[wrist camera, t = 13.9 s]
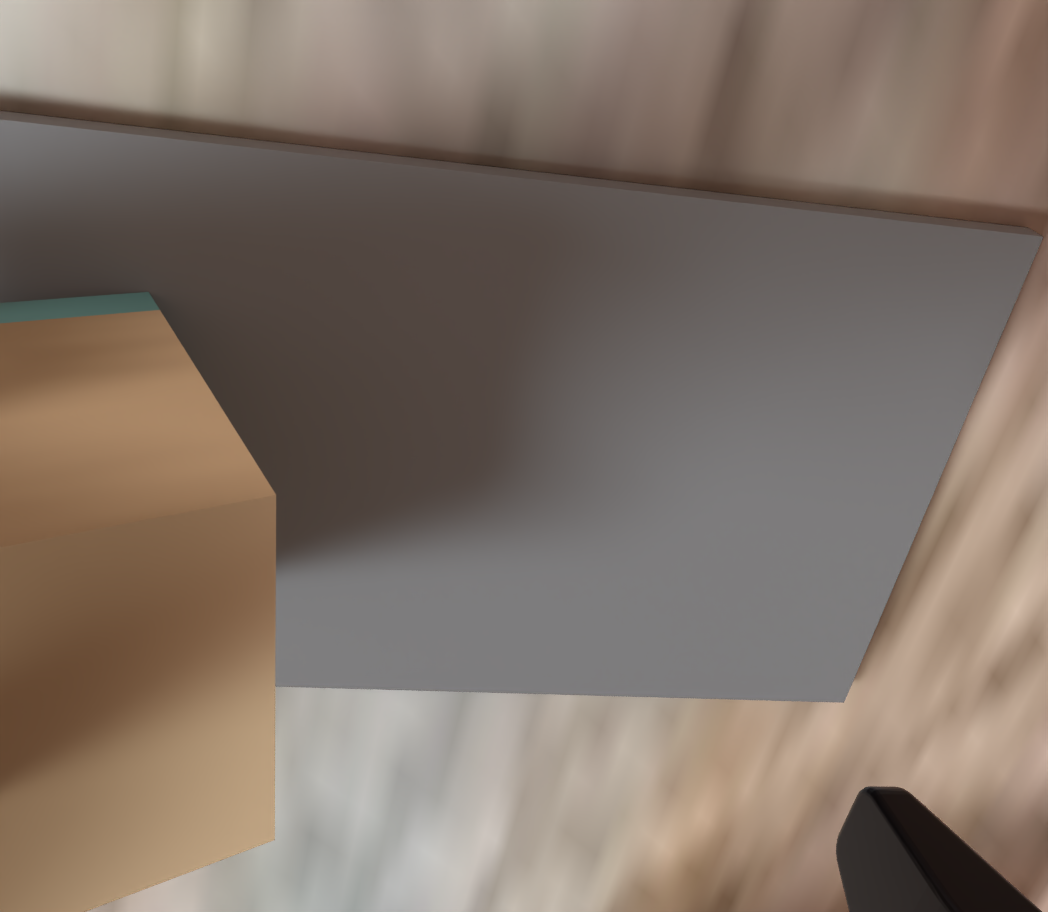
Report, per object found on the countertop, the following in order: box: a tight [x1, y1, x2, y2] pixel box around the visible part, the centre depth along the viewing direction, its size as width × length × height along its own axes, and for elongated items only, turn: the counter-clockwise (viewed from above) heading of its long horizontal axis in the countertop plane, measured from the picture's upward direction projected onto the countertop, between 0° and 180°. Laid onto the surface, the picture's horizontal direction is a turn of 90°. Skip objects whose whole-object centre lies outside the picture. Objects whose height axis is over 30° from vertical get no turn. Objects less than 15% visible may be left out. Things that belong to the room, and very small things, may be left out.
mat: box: [0, 111, 1043, 703], centre depth 14 cm, size 19×9×1 cm, turn 82°
